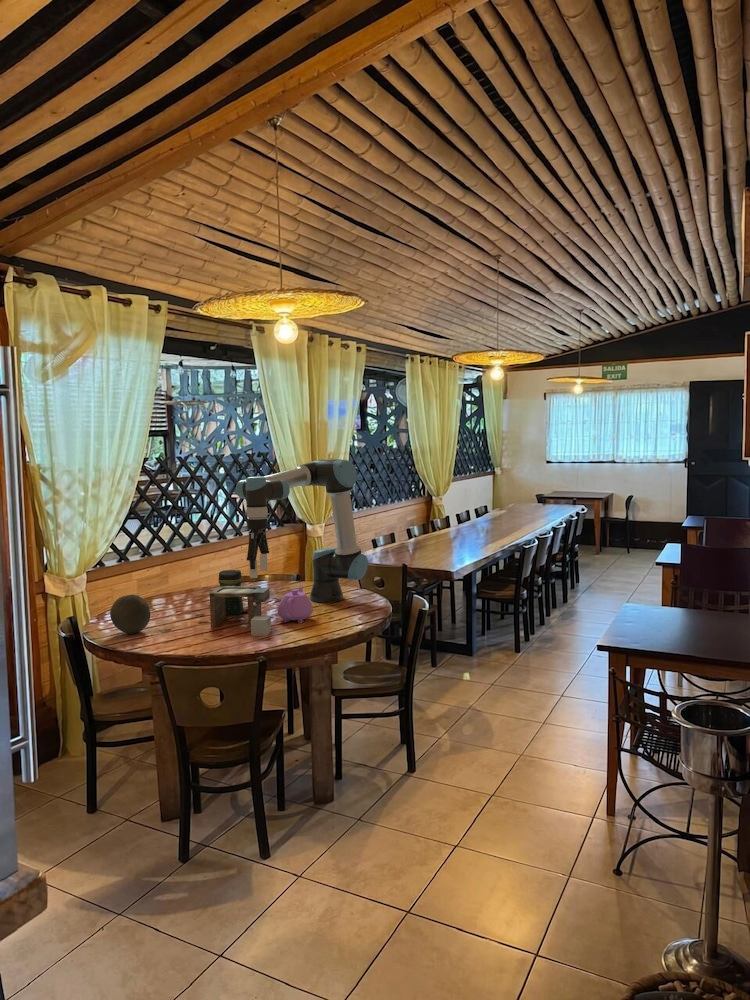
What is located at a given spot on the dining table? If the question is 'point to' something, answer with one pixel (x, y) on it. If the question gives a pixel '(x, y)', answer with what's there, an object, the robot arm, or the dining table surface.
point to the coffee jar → (231, 579)
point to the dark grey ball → (130, 614)
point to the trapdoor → (258, 594)
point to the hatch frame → (219, 603)
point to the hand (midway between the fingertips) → (258, 574)
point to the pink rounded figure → (295, 606)
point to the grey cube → (261, 625)
